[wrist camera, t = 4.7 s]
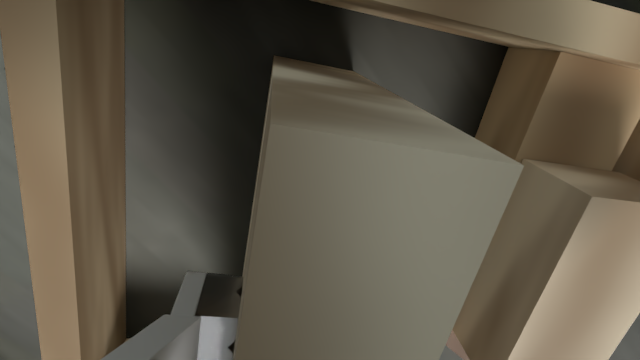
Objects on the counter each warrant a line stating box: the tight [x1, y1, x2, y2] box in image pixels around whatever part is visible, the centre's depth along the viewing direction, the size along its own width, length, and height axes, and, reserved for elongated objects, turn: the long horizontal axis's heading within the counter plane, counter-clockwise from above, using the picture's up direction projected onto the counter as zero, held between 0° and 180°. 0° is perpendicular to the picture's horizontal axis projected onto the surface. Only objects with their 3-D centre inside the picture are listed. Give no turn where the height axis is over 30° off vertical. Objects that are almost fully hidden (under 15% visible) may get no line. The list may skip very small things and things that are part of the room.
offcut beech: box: [452, 159, 640, 360], centre depth 13 cm, size 4×8×3 cm, turn 170°
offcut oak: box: [475, 47, 640, 171], centre depth 14 cm, size 4×7×3 cm, turn 169°
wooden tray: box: [0, 0, 640, 360], centre depth 14 cm, size 21×18×4 cm
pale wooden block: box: [233, 55, 524, 360], centre depth 11 cm, size 3×12×10 cm, turn 169°
